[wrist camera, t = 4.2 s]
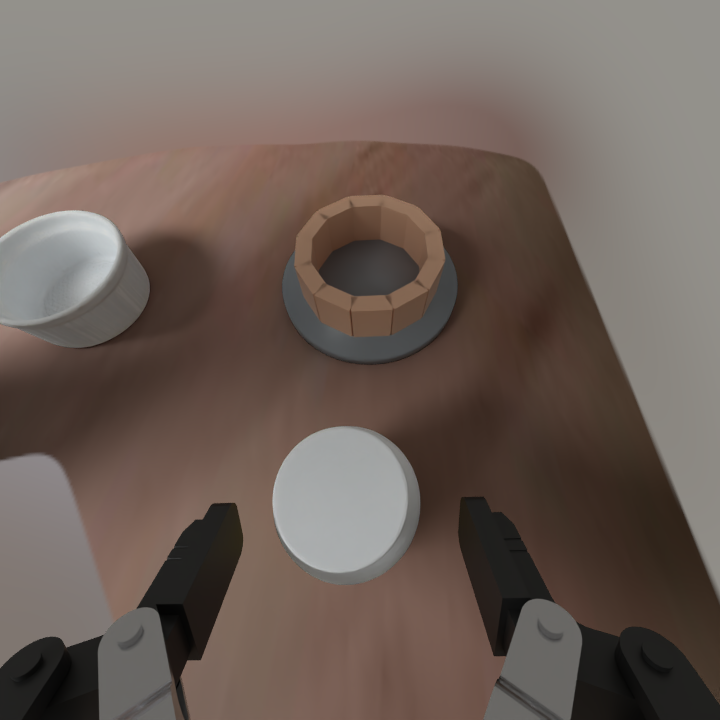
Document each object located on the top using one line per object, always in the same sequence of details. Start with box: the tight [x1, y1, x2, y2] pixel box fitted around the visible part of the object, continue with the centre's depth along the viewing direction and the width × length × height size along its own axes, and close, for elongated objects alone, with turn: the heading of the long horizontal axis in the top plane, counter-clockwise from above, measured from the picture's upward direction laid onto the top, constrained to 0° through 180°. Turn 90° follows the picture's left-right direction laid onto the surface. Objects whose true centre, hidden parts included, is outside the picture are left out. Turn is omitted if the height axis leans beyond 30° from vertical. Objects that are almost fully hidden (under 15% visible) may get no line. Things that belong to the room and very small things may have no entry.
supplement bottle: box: [273, 426, 420, 585], centre depth 14 cm, size 5×5×10 cm
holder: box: [282, 195, 458, 365], centre depth 23 cm, size 12×12×4 cm
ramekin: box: [0, 210, 150, 348], centre depth 23 cm, size 9×9×4 cm
